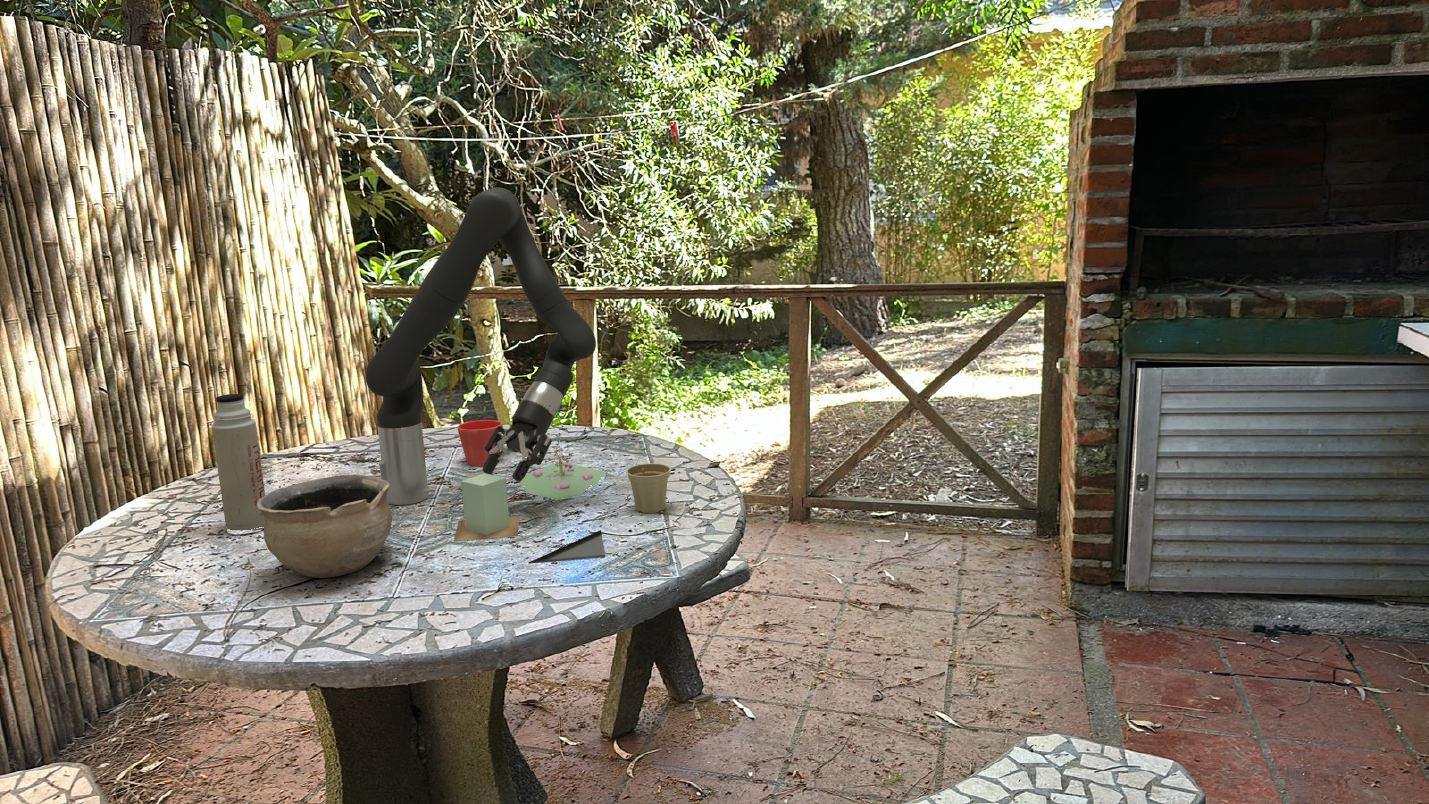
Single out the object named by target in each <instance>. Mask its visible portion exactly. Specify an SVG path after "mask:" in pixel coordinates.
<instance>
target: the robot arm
mask: <svg viewBox="0 0 1429 804" xmlns="http://www.w3.org/2000/svg"><path fill="white" fill-rule="evenodd" d="M498 242H501V245H502V246H503V247H504V249H505V250H506V252H507V254H508V255H509V258H510V261H512V264H513V267H514V269H515V272H516V275H517V277H518V281H519V283H520V285H521V288H522V290H523V293H524V295H525V296H526V298H527V301H528V302H529V303H530V306H531V307H532V309H533V311H534V312H535V314H536V315H537V317H538V319H539V320H540V321H541V322H542V323H543V324H544V325H546V326H551V327H553V329H555V331H556V332H557V333H556V334H555V335H554V337H553V338H552V339H551V341H550V342H549V345H548V348H547V350H546V353H545V357H544V360H543V364H542V367H541V368H540V370H539V372H538V374H537V375H536V378H535V379H534V380H533V382H532V383H531V385H530V386H529V387H528V389H527V391H526V392H525V394H524V395H523V397H522V399H521V401H520V403H519V405H518V407H517V408H516V409H515V411H514V414H513V415H512V418H511V421H512V422H511V423H512V424H511V426H510V427H509V428H508V429H507V428H504V426H503V427H502V426H498V427H497V429H496V430H495V432H494V434H493V435H492V437H491V438H490V440H489V442H488V443H487V445H486V446H485V450H486V451H487V452H488V453H489V457H488V459H487V460H486V462H485V464H484V466H482V472H483V474H484V473H486V474H490V475H493V472H494V471H495V469H496V468H497V465H498V464H499V462H500V459H502V458H503V457H504V456H506V455H508V456H509V455H510V454H512V453H515V454H516V453H519V454H521V460H520V461H519V462H518V464H517V466H516V468H515V470H514V471H513V473H512V477H511V478H512V479H513V480H515V481H516V482H518V483H520V482H521V481H522V479H523V478H524V477H525V476H526V475H527V473H528V472H529V469H530V468H531V467H533V466H534V465H537V466H541V464H542V462H543V461H544V459H545V457H546V455H547V453H548V450H549V448H550V446H551V444H552V442H553V441H552V439H551V437H549V436H548V435H547V432H548V430H549V428H550V427H551V425H552V423H553V421H554V420H555V417H556V415H557V414H558V412H559V411H560V407H561V406H562V402H563V401H564V399H565V396H566V394H567V393H568V391H569V388H570V387H571V385H572V383H573V381H574V373H573V372H572V369H573V367H574V364H575V363H576V362H577V361H580V360H584V359H587V358H589V357H591V356H592V355H593V354H594V353H595V351H596V347H597V340H596V335H595V334H594V331H593V330H592V327H591V326H590V325H589V324H588V322H587V321H586V320H585V319H584V318H583V317H582V316H581V314H579V313H578V311H577V310H576V309H575V308H574V307H573V306H572V305H571V304H570V302H569V301H568V299H567V297H566V295H565V294H564V291H563V290H562V289H561V287H560V285H559V283H558V282H557V280H556V278H555V277H554V275H553V273H552V272H551V269H550V268H549V267H548V265H547V263H546V261H545V259H544V258H543V255H542V254H541V252H540V250H539V248H538V245H537V243H536V241H535V240H534V237H533V235H532V233H531V230H530V228H529V225H528V223H527V220H526V218H525V215H524V212H523V210H522V206H521V204H520V202H519V200H518V198H517V196H516V195H514V193H513V192H511V191H510V190H508V189H506V188H503V187H491V188H488V189H486V190H484V191H480V192H479V193H477V194H476V196H474V197H473V199H472V200H471V202H470V204H469V205H468V207H467V209H466V212H465V214H464V215H463V219H462V220H461V223H460V224H459V227H458V229H457V230H456V233H455V235H454V236H453V238H452V240H451V242H450V243H449V244H448V246H447V247H446V248H445V249H444V251H443V252H442V253H441V255H440V256H439V257H438V259H437V260H436V261H435V262H434V264H433V266H432V267H431V268H430V270H429V272H428V273H427V274H426V276H425V277H424V279H423V280H422V282H421V283H420V285H419V287H418V288H417V290H416V292H415V293H414V295H413V297H412V298H411V301H410V302H409V303H408V305H407V307H406V309H405V310H404V312H403V314H402V315H401V318H400V319H399V321H398V323H397V324H396V326H395V328H394V330H393V331H392V332H391V334H390V335H389V337H388V338H387V339H386V340H385V342H384V343H383V344H382V346H381V347H380V348H379V349H378V350H377V351H376V353H375V354H374V355H373V356H372V358H371V360H370V361H369V362H368V364H367V365H366V368H365V375H364V376H365V383H366V385H367V387H368V389H369V390H370V391H371V392H372V393H373V394H374V395H376V396H379V397H382V401H381V405H380V407H379V409H378V411H377V413H376V425H377V435H378V443H379V444H378V445H379V452H380V454H379V455H380V461H379V462H378V463H379V471H380V472H379V473H380V479H382V480H386V481H387V482H388V483H389V484H390V485H389V489H388V492H387V496H386V497H387V500H388V503H389V505H393V506H395V505H397V506H402V505H403V506H405V505H412V504H416V503H420V502H423V501H425V500H426V499H429V486H428V475H427V465H426V455H425V454H426V453H425V444H424V443H425V442H424V435H423V424H422V413H423V408H424V389H423V387H424V386H423V385H424V384H423V374H422V367H421V365H420V361H419V359H418V358H419V357H420V356H421V354H422V353H423V351H424V350H425V349H426V348H427V347H428V345H430V343H431V342H433V341H434V339H436V338H437V337H438V336H439V335H440V334H441V332H442V331H444V329H446V327H447V326H448V325H449V324H450V323H451V322H452V321H453V319H454V318H455V317H456V315H457V314H458V313H459V311H460V310H461V308H462V306H463V304H464V303H465V302H466V300H467V298H468V296H469V295H470V293H471V290H472V289H473V287H474V283H475V281H476V279H477V275H478V273H479V270H480V268H481V266H482V263H483V262H484V260H485V259H486V258H487V256H488V255H489V253H490V252H491V251H492V249H493V248H494V247H495V246H496V244H497V243H498ZM494 443H495V446H494V447H493V448H491V447H492V446H493V444H494ZM499 450H500V452H499V453H497V452H498V451H499Z"/></svg>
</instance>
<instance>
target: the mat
mask: <svg viewBox="0 0 1429 804" xmlns="http://www.w3.org/2000/svg"><path fill="white" fill-rule="evenodd" d="M602 535H603V533H602V529H600V530H597V531H595V532H593V533H591V534H589V535H587V536H584V537H582V538H579V539H577V540H574V541H573V542H571V543H569V544H566V545H564V546H562V547H559V548H558V549H555V550H553V551H551V552H548V553H546V554H544V555H542V556H540V557H537V558H534V559H533V560H530V561H528V562H527V564H540V563H549V562H550V563H552V562H561V561H572V560H573V561H574V560H583V559H585V560H586V559H596V558H605V557H606V552H605V545H604V540H603V536H602Z"/></svg>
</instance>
